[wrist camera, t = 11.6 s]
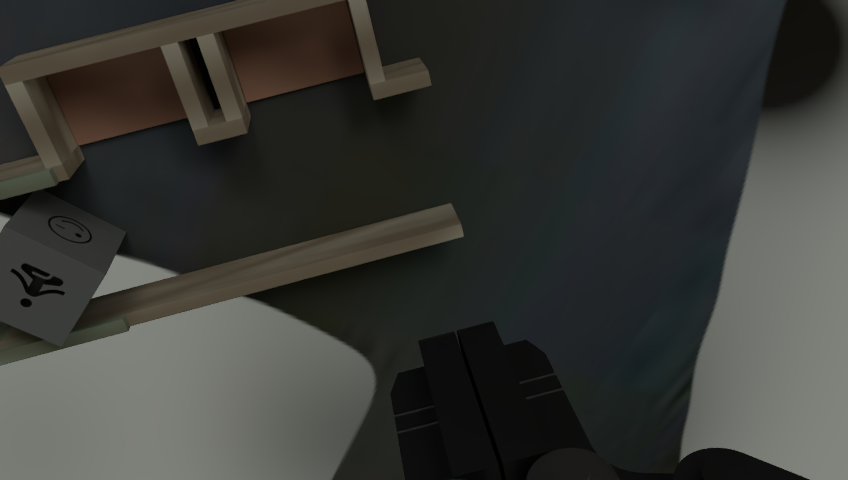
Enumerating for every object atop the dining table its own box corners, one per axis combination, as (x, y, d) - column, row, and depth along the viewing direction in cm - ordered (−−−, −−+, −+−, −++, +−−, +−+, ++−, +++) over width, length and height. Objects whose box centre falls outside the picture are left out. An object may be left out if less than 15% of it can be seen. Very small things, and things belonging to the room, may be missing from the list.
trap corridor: (-134, 93, 35) (-176, 113, 32) (397, -40, 36) (407, -33, 33) (8, 333, 42) (-15, 369, 39) (453, 214, 43) (465, 240, 40)
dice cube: (126, 231, 40) (105, 274, 36) (86, 298, 42) (61, 347, 37) (37, 187, 39) (4, 226, 34) (-2, 257, 40) (-39, 304, 36)
